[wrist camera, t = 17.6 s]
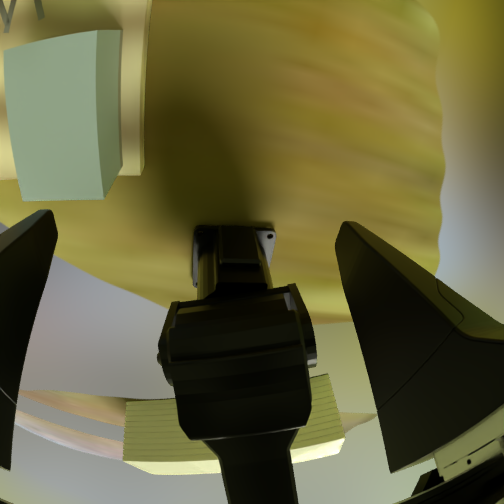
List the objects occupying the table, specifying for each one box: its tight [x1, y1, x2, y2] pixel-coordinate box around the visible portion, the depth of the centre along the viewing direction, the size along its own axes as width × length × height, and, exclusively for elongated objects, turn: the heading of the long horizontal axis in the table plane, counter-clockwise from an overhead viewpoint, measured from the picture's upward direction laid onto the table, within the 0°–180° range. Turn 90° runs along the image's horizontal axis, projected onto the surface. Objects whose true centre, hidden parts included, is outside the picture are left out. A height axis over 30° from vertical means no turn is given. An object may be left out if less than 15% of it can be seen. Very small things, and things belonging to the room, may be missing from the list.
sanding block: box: [4, 30, 123, 201], centre depth 14 cm, size 9×6×4 cm, turn 173°
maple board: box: [0, 0, 152, 180], centre depth 12 cm, size 22×20×2 cm
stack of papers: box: [123, 373, 345, 475], centre depth 43 cm, size 32×11×11 cm, turn 99°
